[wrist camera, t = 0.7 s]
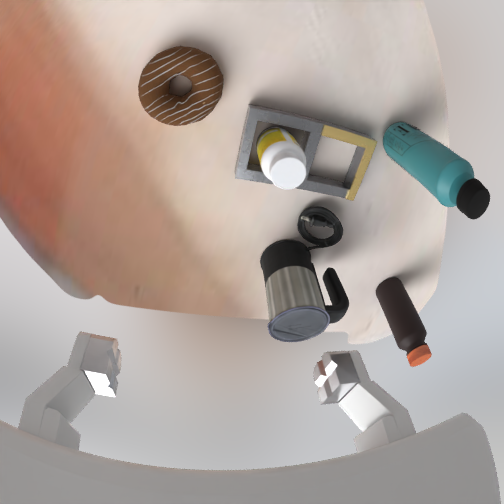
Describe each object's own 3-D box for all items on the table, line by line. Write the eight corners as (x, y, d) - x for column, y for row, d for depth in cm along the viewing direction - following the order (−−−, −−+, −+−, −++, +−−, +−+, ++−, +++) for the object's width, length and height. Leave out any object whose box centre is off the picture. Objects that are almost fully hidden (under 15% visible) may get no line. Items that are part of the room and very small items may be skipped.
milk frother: (262, 280, 54) (271, 347, 43) (250, 211, 43) (259, 280, 32) (333, 268, 53) (356, 331, 42) (338, 199, 43) (374, 261, 32)
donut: (146, 46, 26) (137, 46, 23) (228, 49, 27) (228, 48, 24) (141, 121, 33) (132, 129, 29) (217, 125, 34) (216, 132, 31)
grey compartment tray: (248, 104, 32) (250, 108, 30) (368, 135, 36) (377, 141, 34) (234, 170, 39) (235, 179, 37) (347, 191, 42) (353, 200, 40)
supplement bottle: (250, 156, 37) (256, 188, 30) (263, 121, 34) (274, 143, 27) (286, 166, 39) (301, 200, 31) (300, 133, 36) (320, 159, 28)
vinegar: (377, 300, 62) (406, 372, 47) (372, 285, 58) (405, 362, 43) (401, 288, 60) (434, 358, 45) (399, 272, 56) (436, 346, 41)
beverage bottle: (388, 163, 39) (463, 242, 24) (369, 131, 35) (454, 201, 20) (416, 142, 36) (500, 210, 21) (400, 109, 33) (495, 167, 18)
